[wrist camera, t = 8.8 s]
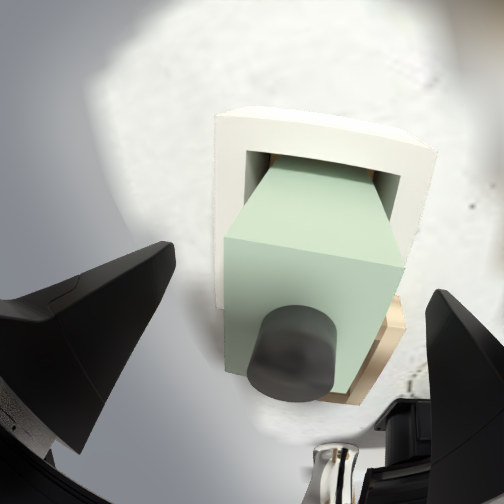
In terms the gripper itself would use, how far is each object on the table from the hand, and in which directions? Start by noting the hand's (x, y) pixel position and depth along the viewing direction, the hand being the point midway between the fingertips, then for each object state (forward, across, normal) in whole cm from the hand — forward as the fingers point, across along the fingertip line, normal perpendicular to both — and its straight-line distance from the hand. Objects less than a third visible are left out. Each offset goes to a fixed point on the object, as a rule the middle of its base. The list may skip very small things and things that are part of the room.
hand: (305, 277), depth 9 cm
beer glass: (+8, -10, +33) cm, 35 cm away
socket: (+7, 0, 0) cm, 7 cm away
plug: (+6, 0, 0) cm, 6 cm away
